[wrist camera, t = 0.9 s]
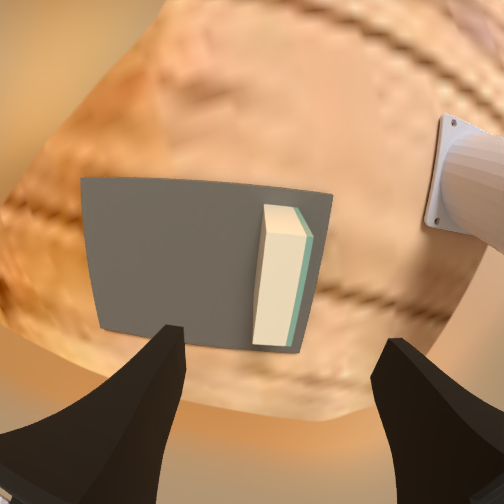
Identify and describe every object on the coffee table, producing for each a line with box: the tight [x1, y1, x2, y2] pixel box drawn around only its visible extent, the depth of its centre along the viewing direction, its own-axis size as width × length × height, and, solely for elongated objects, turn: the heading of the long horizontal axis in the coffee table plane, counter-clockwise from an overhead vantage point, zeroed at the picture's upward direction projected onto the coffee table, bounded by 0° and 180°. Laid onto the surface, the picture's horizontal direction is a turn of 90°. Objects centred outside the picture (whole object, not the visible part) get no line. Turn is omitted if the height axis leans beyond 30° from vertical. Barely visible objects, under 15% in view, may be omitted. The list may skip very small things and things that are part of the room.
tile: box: [252, 204, 314, 346], centre depth 15 cm, size 2×6×5 cm, turn 174°
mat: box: [80, 177, 333, 353], centre depth 19 cm, size 16×12×1 cm
